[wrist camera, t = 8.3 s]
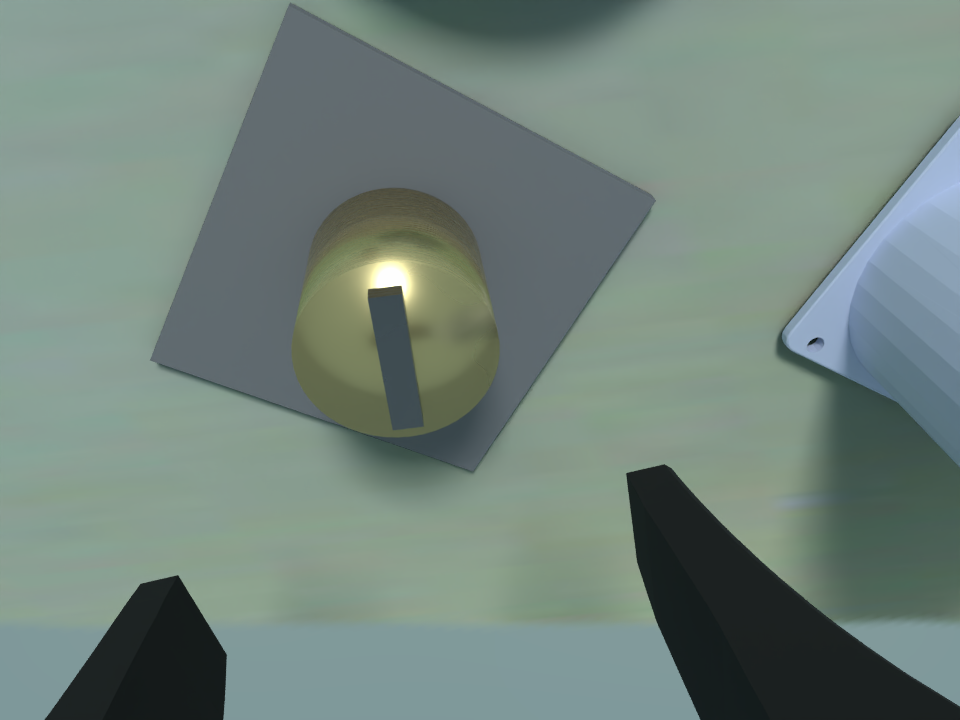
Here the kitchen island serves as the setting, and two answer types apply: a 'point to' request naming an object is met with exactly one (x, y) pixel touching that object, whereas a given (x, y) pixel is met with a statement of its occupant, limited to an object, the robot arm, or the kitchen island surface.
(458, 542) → the kitchen island surface
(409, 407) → the knob
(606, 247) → the mat
